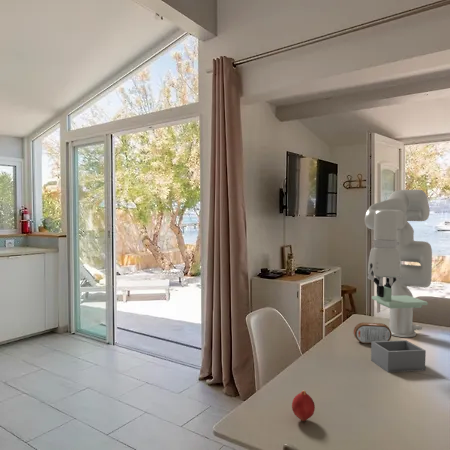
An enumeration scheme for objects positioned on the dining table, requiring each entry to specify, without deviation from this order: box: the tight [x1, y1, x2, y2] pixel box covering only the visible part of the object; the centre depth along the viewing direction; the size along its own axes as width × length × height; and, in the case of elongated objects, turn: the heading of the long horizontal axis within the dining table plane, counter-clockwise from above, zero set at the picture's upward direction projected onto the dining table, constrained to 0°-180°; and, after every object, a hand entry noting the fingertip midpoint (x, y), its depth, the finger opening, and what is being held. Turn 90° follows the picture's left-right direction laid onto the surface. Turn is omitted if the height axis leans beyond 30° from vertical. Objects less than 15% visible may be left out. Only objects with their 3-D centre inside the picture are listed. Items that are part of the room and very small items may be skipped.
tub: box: [370, 339, 427, 373], centre depth 140 cm, size 14×11×7 cm
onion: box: [291, 390, 316, 422], centre depth 101 cm, size 6×6×8 cm
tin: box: [353, 322, 392, 345], centre depth 164 cm, size 15×3×8 cm, turn 84°
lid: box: [371, 285, 429, 309], centre depth 139 cm, size 14×11×7 cm
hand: (383, 296), depth 138 cm, fingers closed on lid
